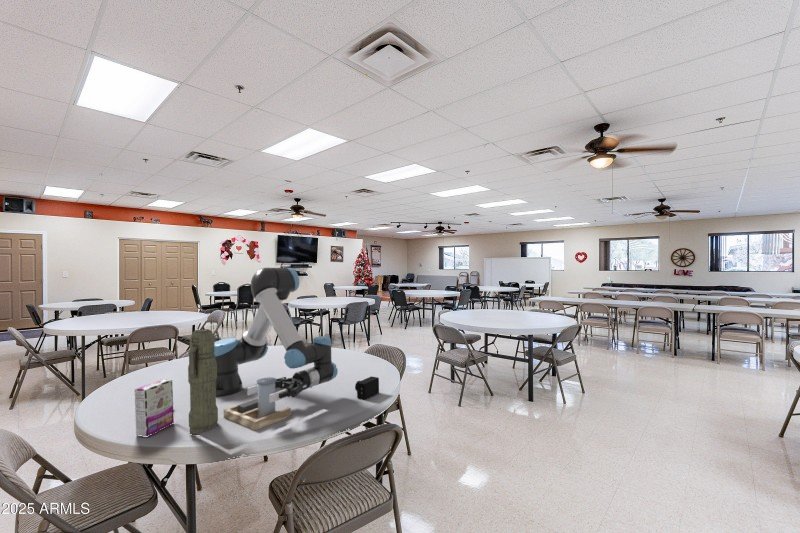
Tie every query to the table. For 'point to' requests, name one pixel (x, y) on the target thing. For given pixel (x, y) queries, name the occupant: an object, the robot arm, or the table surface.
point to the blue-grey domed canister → (265, 396)
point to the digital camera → (367, 388)
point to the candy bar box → (154, 407)
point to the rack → (255, 417)
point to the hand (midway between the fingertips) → (258, 395)
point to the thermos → (202, 382)
